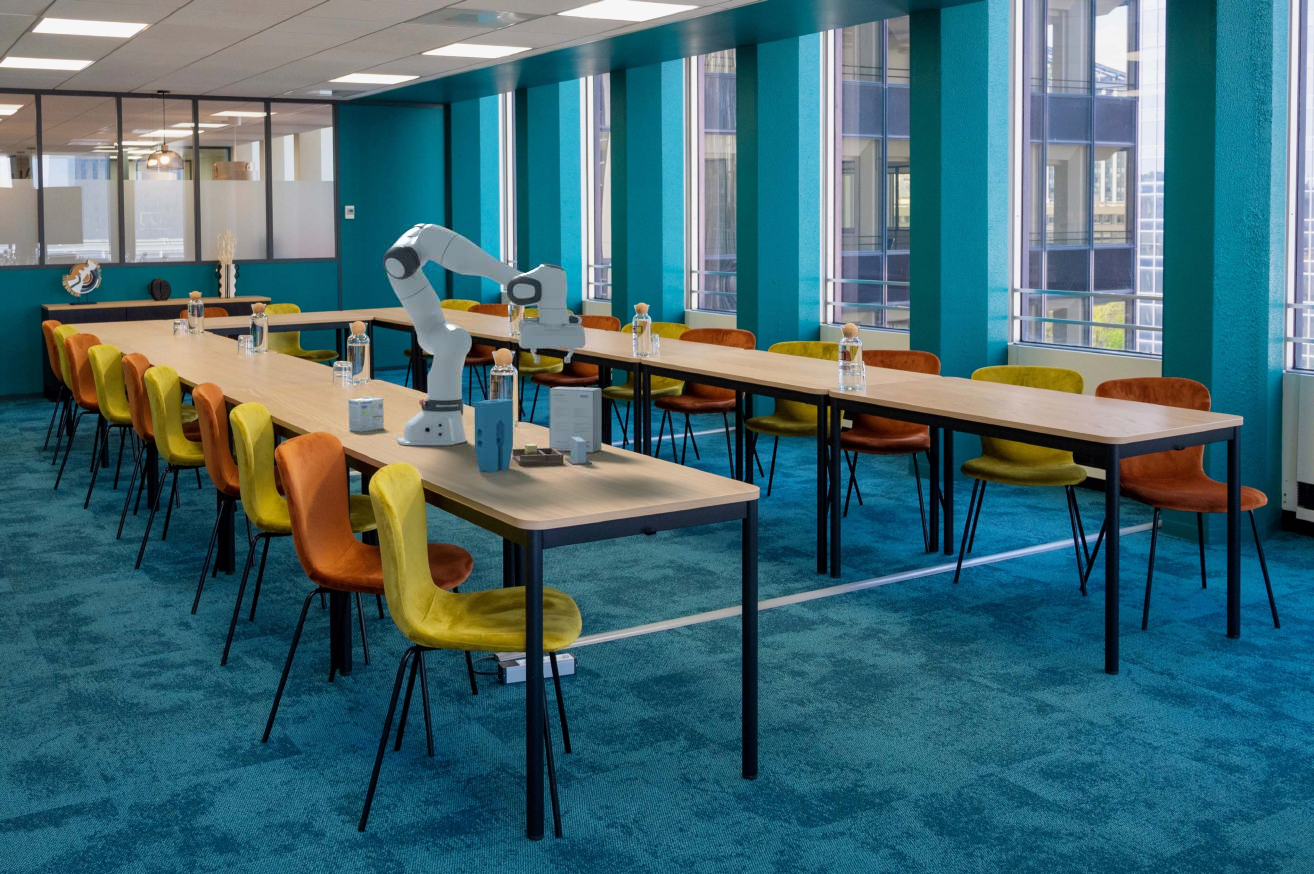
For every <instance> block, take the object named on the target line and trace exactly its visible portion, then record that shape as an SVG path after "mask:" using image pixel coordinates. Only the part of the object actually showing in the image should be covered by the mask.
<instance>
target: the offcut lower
mask: <svg viewBox="0 0 1314 874" xmlns="http://www.w3.org/2000/svg"><path fill="white" fill-rule="evenodd" d="M525 455H537V452H527V451H526V450H525Z"/></svg>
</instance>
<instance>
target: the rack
mask: <svg viewBox="0 0 1314 874" xmlns="http://www.w3.org/2000/svg"><path fill="white" fill-rule="evenodd" d="M511 459H512V460H514V462H515V463H517V464H518V465H519V466H520V467H528V466H529V467H531V466H533V467H534V466H554V465H555V466H557V465H565V464H564V461H565V457H564V454H563V453H561V452H560V451H559V450H556V449H555V448H550V447H537V455H525V448H513V449H512V454H511Z"/></svg>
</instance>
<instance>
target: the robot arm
mask: <svg viewBox="0 0 1314 874" xmlns="http://www.w3.org/2000/svg"><path fill="white" fill-rule="evenodd" d="M428 261H432V262H435V263H436V264H438V265H440V266H441V267H442V268H444V269H446V270H449V271H451V272H453V273H456V274H460V275H466V276H475V277H476V276H479V277H485V278H488V279H489V280H493V281H494V282H496V283H498V284H500V285H503V286H505V288H506V295H507V297H508V300H509V301H510V302H511V303H512V304H514V305H516V306H519V307H530V306H532V307H537V317H523V318H522V319H520V320H519V322H518V330H519V339H518V345H519V347H520V348H522V349H530V353H531V354H532V357H533V361H534V362H533V363H534V364H540V363H541V361H540V360H541V357H539V356H537V354H536V353H537V349H567V351H568V353H567V356H564V358H563V359H564V363H565V364H569V363H571V357H572V356H573V354H574V352H575V349H583V348H584V347H585V346H586V333H585V328H584V326H583V325H581V324H582V322H583V319H582V317H580V316H578V315H575V314H574V313H571V312H568V307H567V302H566V301H567V295H568V281H567V273H566V271H565V269H564V268H563V267H562V266H560V265H555V264H552V263H541V264H540V265H539V266H538V267H535V268H534V269H532V270H530V271H528V272H524V271H521V270H519V269H517V268H514V267H512V266H511V265H509V264H507V263H505V262H504V261H503V262H502V261H501V260H499V259H497V258H495V257H494V256H492V255H490V254H489V253H488V252H486V251H485V250H484V249H482V248H481V247H479V246H478V245H477V244H475V243H474V242H472V240H469V239H468V238H467V237H465V236H463V235H462V234H459V233H457V232H455V231H454V230H451V229H448V228H446V227H444V226H441V225H438V224H434V223H429V224H427V223H418V224H415V225H413V226H412V227H410V229H409V230H407V231H406V232H404V234H402V235H401V236H400V237H399V238H398V239H397V240H396V242H394V244H393V245H392V246H391V247H389V249H387V250H386V252H385V254H384V255H383V259H382V263H383V268H384V269H385V271H386V274H387V278H388V281H389V283H390V286H391V287H392V289H393V291H394V293H395V295H396V297H397V298H398V299H399V302H400V303H401V305H402V306H403V308H404V310H405V311H406V313H407V315H408V316H409V318H410V320H411V322H412V324H413V326H414V330H415V332H416V335H417V336H416V337H417V338H416V339H417V343H418V345H419V346H420V347H419V348H421V349H422V350H423V351H425V353H427V354H429V355H433V359H432V365H431V368H430V370H429V372H428V374H427V398H425V399H423V398H420V399H419V400H418V404H419V405H420V406H421V411H419V412H417V414H415V415H414V416H413V417H411V418H410V419H409V420H407V422H406V424H405V426H404V431H403V432H404V433H403V436H399V437H397V443H398V444H400V445H403V446H453V445H456V444H461V443H465V442H467V441H468V439H467V436H466V432H465V428H464V427H465V426H464V420H463V416H464V399H463V398H462V397H463V396H462V394H463V393H462V391H463V390H462V388H463V387H462V384H463V383H462V382H463V379H462V378H463V370H464V367H465V366H464V365H465V360H466V358H467V354H468V353H469V352H470V351H471V348H472V342H473V341H472V336H471V334H470V332H469V331H467V330H466V329H465V328H464V327H461V326H460V325H458V324H454V323H449V322H448V321H447V320H446V318H445V316H444V313H443V310H442V307H441V306H442V301H441V300H440V298H439V296H438V295H437V293H436V291H435V289H434V288H433V286H432V284H431V283H430V280H429V279H428V278H427V277H426V275H425V273H424V272H423V269H422V267H424V266H425V265H426V264H427V262H428Z"/></svg>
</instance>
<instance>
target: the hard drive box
mask: <svg viewBox="0 0 1314 874" xmlns="http://www.w3.org/2000/svg"><path fill="white" fill-rule="evenodd" d="M548 392H549V393H548V395H549V397H548V399H549V401H548V403H549V404H548V405H549V406H548V407H549V409H548V410H549V413H548V416H549V428H548V430H549V431H548V432H549V448H555V449H556V450H557V451H559V452H560V451H561V452H571V437H580V438H582V439H583V440H585V441H586V453H590V454H591V453H595V452H597V451H600V450H603V449H602V447H603V446H602V388H600V387H597V388H596V387H577V386H575V387H574V386H573V387H572V386H571V387H570V386H556V387H552V388H549V389H548Z"/></svg>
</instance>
